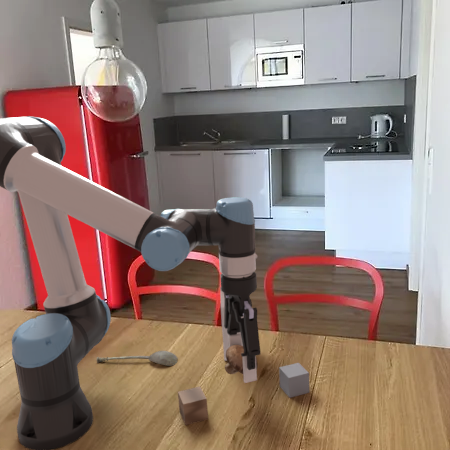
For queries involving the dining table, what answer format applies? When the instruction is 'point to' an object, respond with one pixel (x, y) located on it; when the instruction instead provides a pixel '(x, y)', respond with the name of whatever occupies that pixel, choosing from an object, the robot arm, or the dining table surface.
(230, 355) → the mushroom
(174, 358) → the soupspoon
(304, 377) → the slate-grey block
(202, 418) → the walnut block
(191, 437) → the dining table surface
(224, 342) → the milk carton
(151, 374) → the dining table surface
